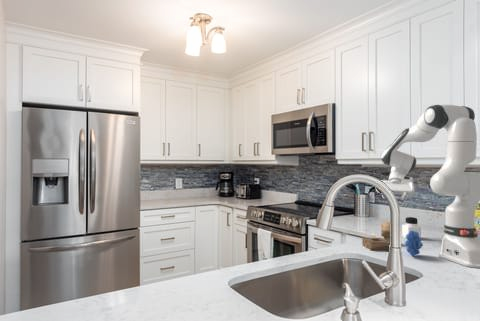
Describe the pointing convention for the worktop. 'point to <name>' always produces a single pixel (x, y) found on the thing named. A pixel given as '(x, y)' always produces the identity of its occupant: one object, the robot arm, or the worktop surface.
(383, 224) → the tan tall piece
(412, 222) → the medicine bottle
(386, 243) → the brown wooden tray
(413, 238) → the grapes
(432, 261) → the worktop surface
